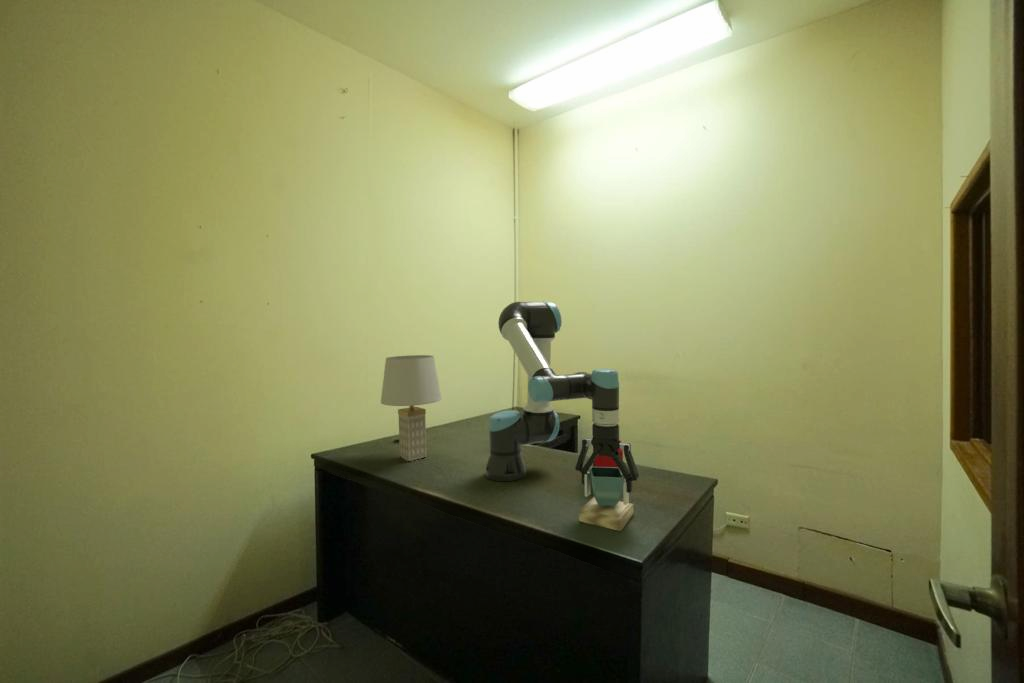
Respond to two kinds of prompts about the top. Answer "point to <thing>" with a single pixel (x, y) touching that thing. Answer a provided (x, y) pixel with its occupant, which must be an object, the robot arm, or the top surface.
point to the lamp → (411, 398)
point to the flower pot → (607, 485)
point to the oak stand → (606, 514)
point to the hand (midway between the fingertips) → (606, 499)
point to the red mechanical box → (606, 460)
